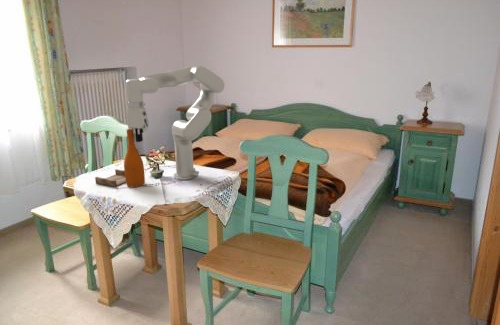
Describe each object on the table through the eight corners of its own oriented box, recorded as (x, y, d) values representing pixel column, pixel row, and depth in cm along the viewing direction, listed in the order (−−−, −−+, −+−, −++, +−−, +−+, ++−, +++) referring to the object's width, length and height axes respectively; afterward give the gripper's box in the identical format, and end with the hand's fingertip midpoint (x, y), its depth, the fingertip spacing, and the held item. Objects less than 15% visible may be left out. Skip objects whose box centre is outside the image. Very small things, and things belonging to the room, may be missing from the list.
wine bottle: (140, 188, 199) (133, 131, 190) (122, 187, 201) (115, 130, 192) (148, 182, 208) (143, 127, 199) (131, 181, 210) (125, 126, 201)
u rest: (136, 178, 214) (135, 172, 213) (115, 187, 201) (114, 181, 200) (117, 175, 220) (116, 169, 219) (95, 183, 207) (95, 177, 206)
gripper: (152, 104, 189) (156, 141, 195) (129, 103, 196) (133, 138, 201) (142, 106, 183) (146, 144, 188) (118, 105, 189) (122, 141, 195)
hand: (139, 141), depth 195 cm, fingers closed
